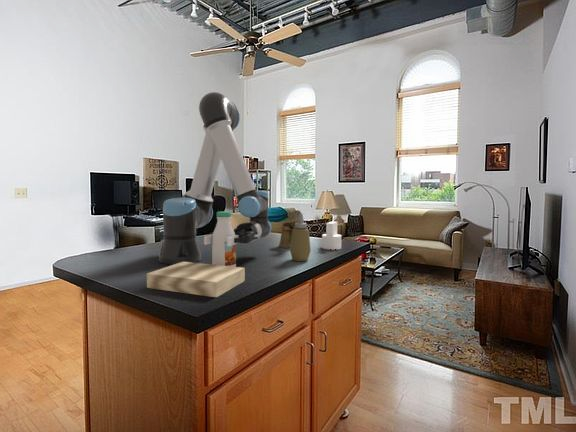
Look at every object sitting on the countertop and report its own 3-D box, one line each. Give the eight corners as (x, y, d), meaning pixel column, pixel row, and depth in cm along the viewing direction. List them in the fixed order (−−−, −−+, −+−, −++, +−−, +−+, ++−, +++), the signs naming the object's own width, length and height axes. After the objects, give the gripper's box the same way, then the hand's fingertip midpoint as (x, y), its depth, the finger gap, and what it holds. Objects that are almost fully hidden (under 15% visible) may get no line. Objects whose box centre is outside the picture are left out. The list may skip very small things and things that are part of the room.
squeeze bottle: (310, 258, 133) (311, 213, 132) (310, 262, 125) (311, 215, 124) (290, 257, 134) (291, 212, 133) (288, 261, 126) (289, 214, 125)
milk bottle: (215, 276, 105) (215, 212, 103) (209, 270, 112) (209, 211, 110) (239, 273, 109) (239, 212, 107) (231, 268, 115) (231, 210, 114)
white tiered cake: (325, 245, 163) (325, 221, 162) (343, 247, 159) (343, 222, 158) (319, 248, 155) (320, 222, 154) (338, 250, 151) (339, 224, 150)
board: (147, 287, 92) (146, 273, 92) (183, 273, 107) (182, 261, 107) (216, 297, 85) (216, 282, 85) (244, 280, 100) (244, 267, 100)
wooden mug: (288, 250, 148) (289, 210, 147) (275, 245, 160) (276, 208, 159) (306, 249, 152) (306, 210, 151) (292, 244, 164) (292, 208, 163)
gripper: (273, 243, 123) (245, 255, 102) (224, 240, 130) (189, 250, 108) (273, 223, 123) (245, 231, 101) (224, 221, 129) (188, 227, 108)
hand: (216, 241), depth 105 cm, fingers closed on milk bottle, 7 cm apart
